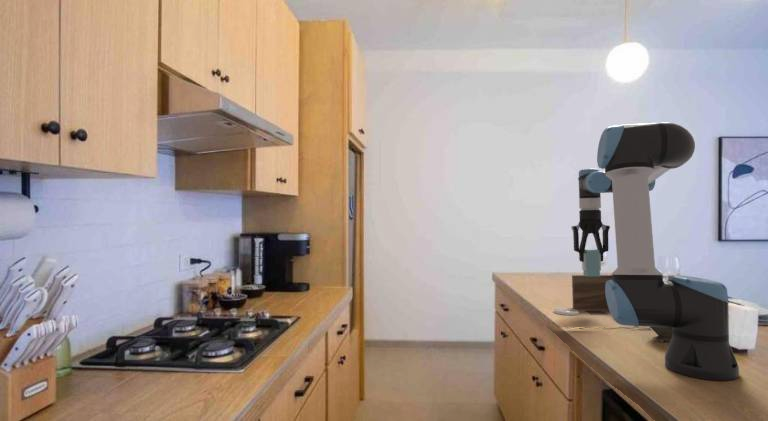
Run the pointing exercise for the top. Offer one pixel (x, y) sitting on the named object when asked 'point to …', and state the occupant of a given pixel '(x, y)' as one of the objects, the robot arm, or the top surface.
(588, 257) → the block
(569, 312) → the saucer
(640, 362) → the top surface
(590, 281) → the dark brown wooden box
